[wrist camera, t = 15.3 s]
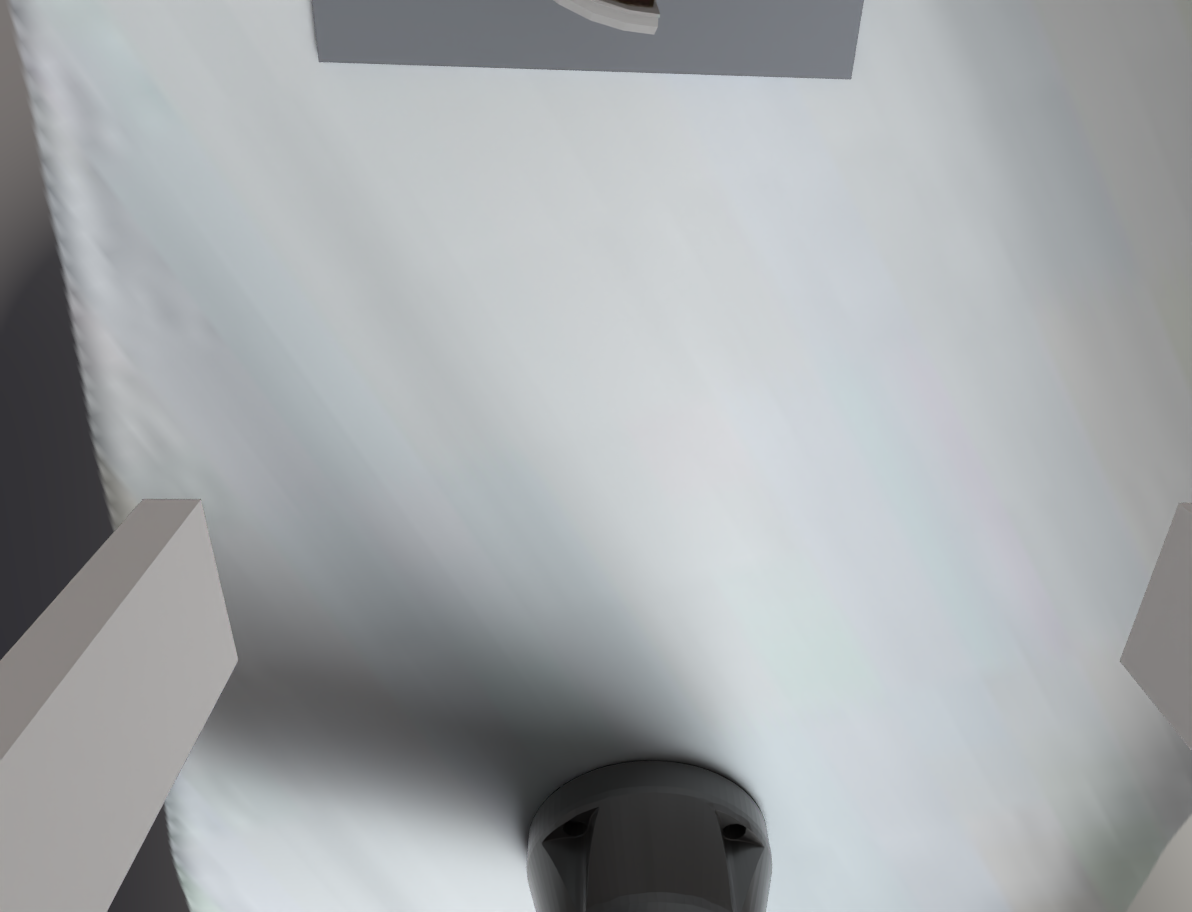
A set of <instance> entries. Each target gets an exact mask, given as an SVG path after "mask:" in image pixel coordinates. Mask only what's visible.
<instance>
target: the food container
mask: <svg viewBox="0 0 1192 912" xmlns="http://www.w3.org/2000/svg"><path fill="white" fill-rule="evenodd" d="M553 1H555V2H556V3H558V4H559V5H561V6H563V7H565V8H567V9H569V10H571V11H573V12H575V13H577V14H579V15H581V16H583V17H585V18H587V19H589V20H591V21H594V22H597V23H600V24H604V25H607V26H610V27H613V28H617V29H620V30H623V31H630V32H638V33H645V34H653V35H654V34H655V32H656V30H657V28H658V18H660V12H659V9H658V6H657V3H656V0H553Z"/></svg>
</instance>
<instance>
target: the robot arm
mask: <svg viewBox="0 0 1192 912" xmlns="http://www.w3.org/2000/svg"><path fill="white" fill-rule="evenodd" d="M237 662H238V656H237V652H236V647H235V643H234V639H233V634H232V630H231V626H230V622H229V617H228V613H227V609H226V604H225V600H224V596H223V592H222V587H221V583H220V579H219V574H218V570H217V566H216V562H215V557H214V553H213V549H212V544H211V540H210V536H209V532H208V527H207V523H206V519H205V514H204V510H203V506H202V502H201V499H143V500H142V501H141V502H140V503H139V504H138V505H137V506H136V508H135V509H134V510H133V511H132V512H131V513H130V514H129V515H128V517H127V518H126V519H125V520H124V521H123V522H122V523H121V525H120V526H119V527H118V528H117V529H116V530H115V531H114V532H113V534H112V535H111V536H110V537H109V538H108V539H107V540H106V542H105V543H104V544H103V545H102V546H101V547H100V548H99V550H98V551H97V552H96V553H95V554H94V555H93V556H92V558H91V559H90V560H89V561H88V562H87V563H86V564H85V565H84V567H83V568H82V569H81V570H80V571H79V572H78V573H77V574H76V576H75V577H74V578H73V579H72V580H71V581H70V582H69V583H68V585H67V586H66V587H65V588H64V589H63V590H62V592H61V593H60V594H59V595H58V596H57V597H56V598H55V600H54V601H53V602H52V603H51V604H50V605H49V606H48V607H47V609H46V610H45V611H44V612H43V613H42V614H41V615H40V616H39V617H38V619H37V620H36V621H35V622H34V623H33V624H32V626H31V627H30V628H29V629H28V630H27V631H26V632H25V633H24V634H23V636H22V637H21V638H20V639H19V640H18V641H17V642H16V644H15V645H14V646H13V647H12V648H11V649H10V650H9V652H8V653H7V654H6V655H5V656H4V657H3V658H2V659H1V661H0V912H107V910H108V908H109V906H110V904H111V903H112V901H113V899H114V897H115V895H116V893H117V891H118V889H119V887H120V885H121V883H122V882H123V879H124V878H125V876H126V874H127V872H128V870H129V868H130V866H131V864H132V863H133V861H134V859H135V857H136V855H137V853H138V851H139V849H140V847H141V845H142V843H143V842H144V839H145V838H146V836H147V834H148V832H149V830H150V828H151V826H152V824H153V822H154V821H155V819H156V817H157V815H158V813H159V811H160V809H161V807H162V805H163V803H164V801H165V800H166V798H167V796H168V794H169V792H170V790H171V788H172V786H173V784H174V782H175V780H176V779H177V777H178V775H179V773H180V771H181V769H182V767H183V765H184V763H185V761H186V759H187V758H188V756H189V754H190V752H191V750H192V748H193V746H194V744H195V742H196V740H197V738H198V737H199V735H200V733H201V731H202V729H203V727H204V725H205V723H206V721H207V719H208V717H209V716H210V714H211V712H212V710H213V708H214V706H215V704H216V702H217V700H218V698H219V696H220V695H221V693H222V691H223V689H224V687H225V685H226V683H227V681H228V679H229V677H230V675H231V674H232V672H233V670H234V668H235V666H236V664H237ZM1120 662H1121V663H1122V665H1123V666H1124V667H1125V668H1126V670H1127V671H1128V672H1129V673H1130V675H1131V676H1132V677H1133V678H1134V680H1135V681H1136V682H1137V683H1138V685H1139V686H1140V687H1141V688H1142V690H1143V691H1144V692H1145V693H1146V695H1147V696H1148V697H1149V698H1150V699H1151V701H1152V702H1153V703H1154V704H1155V706H1156V707H1157V708H1158V709H1159V711H1160V712H1161V713H1162V714H1163V716H1164V717H1165V718H1166V719H1167V721H1168V722H1169V723H1170V724H1171V726H1172V727H1173V728H1174V729H1175V731H1176V732H1177V733H1178V734H1179V735H1180V737H1181V738H1182V739H1183V740H1184V742H1185V743H1186V744H1187V745H1188V747H1189V748H1190V749H1191V750H1192V503H1179V504H1178V507H1177V509H1176V512H1175V515H1174V517H1173V520H1172V523H1171V525H1170V528H1169V531H1168V533H1167V536H1166V539H1165V541H1164V544H1163V547H1162V549H1161V552H1160V555H1159V557H1158V560H1157V563H1156V565H1155V568H1154V571H1153V573H1152V576H1151V579H1150V581H1149V584H1148V587H1147V589H1146V592H1145V595H1144V597H1143V600H1142V603H1141V605H1140V608H1139V611H1138V613H1137V616H1136V619H1135V621H1134V624H1133V627H1132V629H1131V632H1130V635H1129V637H1128V640H1127V643H1126V645H1125V648H1124V651H1123V653H1122V656H1121V659H1120ZM771 874H772V856H771V850H770V844H769V839H768V834H767V829H766V824H765V821H764V818H763V815H762V813H761V811H760V809H759V808H758V806H757V805H756V803H755V802H754V801H753V799H752V798H751V797H750V796H749V795H748V794H747V793H746V792H745V791H744V790H742V789H741V788H740V787H739V786H737V785H736V784H734V783H733V782H731V781H730V780H728V779H726V778H724V777H722V776H720V775H718V774H716V773H713V772H711V771H708V770H705V769H702V768H699V767H695V766H692V765H687V764H682V763H675V762H666V761H636V762H627V763H621V764H615V765H611V766H607V767H603V768H600V769H597V770H594V771H591V772H588V773H586V774H583V775H581V776H579V777H577V778H575V779H573V780H571V781H570V782H568V783H566V784H565V785H563V786H562V787H560V788H559V789H558V790H556V791H555V792H554V793H553V794H552V795H551V796H550V797H549V798H548V799H547V800H546V801H545V802H544V803H543V804H542V806H541V807H540V808H539V810H538V811H537V813H536V815H535V817H534V819H533V821H532V824H531V827H530V831H529V839H528V853H527V877H528V883H529V887H530V891H531V895H532V898H533V902H534V906H535V909H536V912H766V907H767V901H768V894H769V888H770V881H771Z"/></svg>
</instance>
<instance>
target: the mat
mask: <svg viewBox="0 0 1192 912" xmlns="http://www.w3.org/2000/svg"><path fill="white" fill-rule="evenodd" d="M863 2H864V0H656V3H657V6H658V9H659V12H660V18H658V28H657V30H656V32H655V34H654V35H653V34H645V33H638V32H630V31H623V30H620V29H617V28H613V27H610V26H607V25H604V24H600V23H597V22H594V21H591V20H589V19H587V18H585V17H583V16H581V15H579V14H577V13H575V12H573V11H571V10H569V9H567V8H565V7H563V6H561V5H559V4H558V3H556V2H555V1H553V0H312V7H313V15H314V24H315V33H316V41H317V50H318V58H319V62H337V63H367V64H398V65H429V66H459V67H490V68H520V69H551V70H581V71H612V72H642V73H673V74H703V75H734V76H764V77H795V78H825V79H851V76H852V70H853V64H854V57H855V51H856V45H857V39H858V33H859V26H860V20H861V14H862V8H863Z"/></svg>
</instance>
